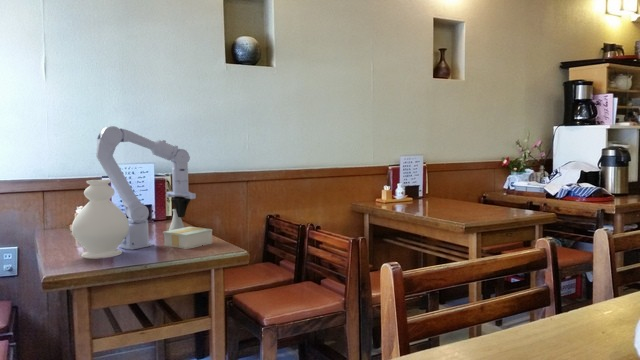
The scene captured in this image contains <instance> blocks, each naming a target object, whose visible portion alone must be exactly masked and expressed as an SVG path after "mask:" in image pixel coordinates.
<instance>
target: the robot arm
mask: <svg viewBox="0 0 640 360" xmlns="http://www.w3.org/2000/svg"><path fill="white" fill-rule="evenodd" d="M128 142H129V143H132V144H135V145H137V146H139V147H142V148H145V149H149V150H150V151H151V153H152V155H154V156H156V157H159V158H161V159H164V160H167V161H170V162H171V164H172V165H171V166H172V168H171V170H172V171H171V173H172V175H171V176H172V178H171V179H172V191H165V192H166V193H165V194H166V195H165V196H166V197H167V198H171V202H172V203H173V206H174V209H176V212H177V215H178V217H181V218H184V217H185V215H186V212H187V207H188V206H189V203H190V202H191V200H195V199H197V196H196V195H197V193H194V192H191V191H189V190H190V189H189V168H188V167H189V166H188V164H189V161H190V160H191V156H190V154H189V152H188V151H187V149H184V148H178V147H179V146H178V145H176V144H175V145H172V144H170V143H168V142H167V141H166V140H164V139H161V140H160V139H158V140H155V141H154V140H151V139H149V138H146V137H144V136H142V135H139V134H137V133H135V132H133V131H131V130H128V129H126V128H120V127H117V126H114V125H111V126H107V127H103V128H102V129H101V130H100V131H99V133H98V135H97V138H96V153H95V154H96V159H97V160H98V162H99V164H100V165H101V167H102V169H103V170H104V172H105V173H106V175H107V177H108V180H111V182H110V183H111V184H112V185H113V187H114V190H115V192H116V193H117V194H118V195H119V197H120V200H121V201H122V205H123V206H124V208H125V216H126V217H128V218H127V219H128V222H129V231H128V233H127V235H126V237H125V238H124V239H123V241H122V242H121V243H120V245H119V246H118V248H119V249H120V248H121V249H126V250H137V249H142V248H147V247H148V248H149V247H152V246H155V244H154V243H150V242H149V241H150V240H149V239H150V238H149V235H150V234H149V220H148V217H150V212H149V208H148V207H147V205H144V204H143V203H142V202H141V200H140V199H139V197H137V196H138V195H136V194H135V192H134V189H132V187H131V185H130V184H129V182H128V180H127V178H126V177H125V175H124V173H123V172H122V169H121V168H120V166H119V165H118V163H117V161H116V159H115V158H114V154H115V150H116V148H117V147H118V146H119V144H120V143H128Z"/></svg>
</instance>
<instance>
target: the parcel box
mask: <svg viewBox="0 0 640 360" xmlns="http://www.w3.org/2000/svg"><path fill="white" fill-rule="evenodd" d="M163 236H164V237H163V238H164V242H163V243H164V246H165V247H171V248H179V249H185V250H189V249H193V248H198V247H202V245H203V246H207V245H212V244H213V230H212V231H210V232H205V233H201V234H196V235H191V236H187V237H185V236H178V235H170V234H163Z"/></svg>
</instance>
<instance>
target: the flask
mask: <svg viewBox="0 0 640 360" xmlns="http://www.w3.org/2000/svg"><path fill="white" fill-rule="evenodd" d="M171 211H172V214H173V215H172V219H171V223H170V226H169V228H168V231H170V230H175V229H180V228H185V225H184V222H183V219H182V217H178V215H177V212H176V208H173V209H172V210H171Z"/></svg>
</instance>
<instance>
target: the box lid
mask: <svg viewBox="0 0 640 360" xmlns="http://www.w3.org/2000/svg"><path fill="white" fill-rule="evenodd" d="M184 227H185V226H184ZM210 231H212V232H213V229H211V228H204V227H197V226H196V227H195V226H186V227H185V228H180V229H175V230H170V231H169V230H166V231H162V234H163V235H164V234H170V235H178V236H185V237H187V236H191V235H196V234H201V233H205V232H210Z"/></svg>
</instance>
